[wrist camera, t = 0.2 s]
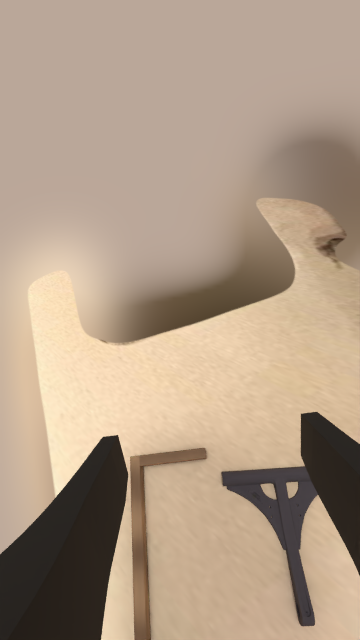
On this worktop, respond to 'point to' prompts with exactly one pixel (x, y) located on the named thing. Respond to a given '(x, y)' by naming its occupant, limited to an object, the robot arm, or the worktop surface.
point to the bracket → (282, 518)
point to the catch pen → (140, 532)
